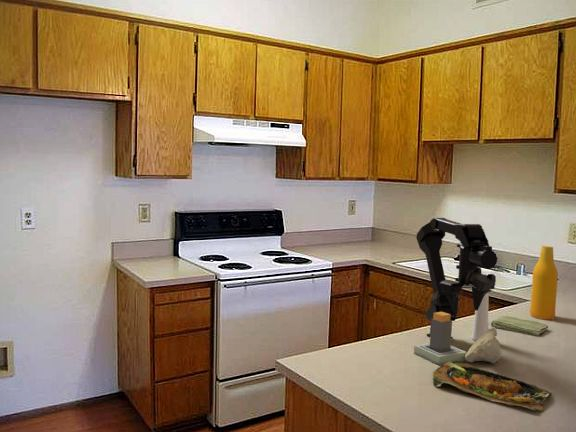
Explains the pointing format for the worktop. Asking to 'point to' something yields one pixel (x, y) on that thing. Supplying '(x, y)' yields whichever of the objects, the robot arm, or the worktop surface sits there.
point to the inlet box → (439, 354)
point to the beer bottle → (544, 286)
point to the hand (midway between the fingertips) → (465, 311)
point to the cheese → (485, 348)
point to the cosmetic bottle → (480, 319)
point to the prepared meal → (490, 386)
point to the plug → (441, 332)
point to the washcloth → (519, 325)
